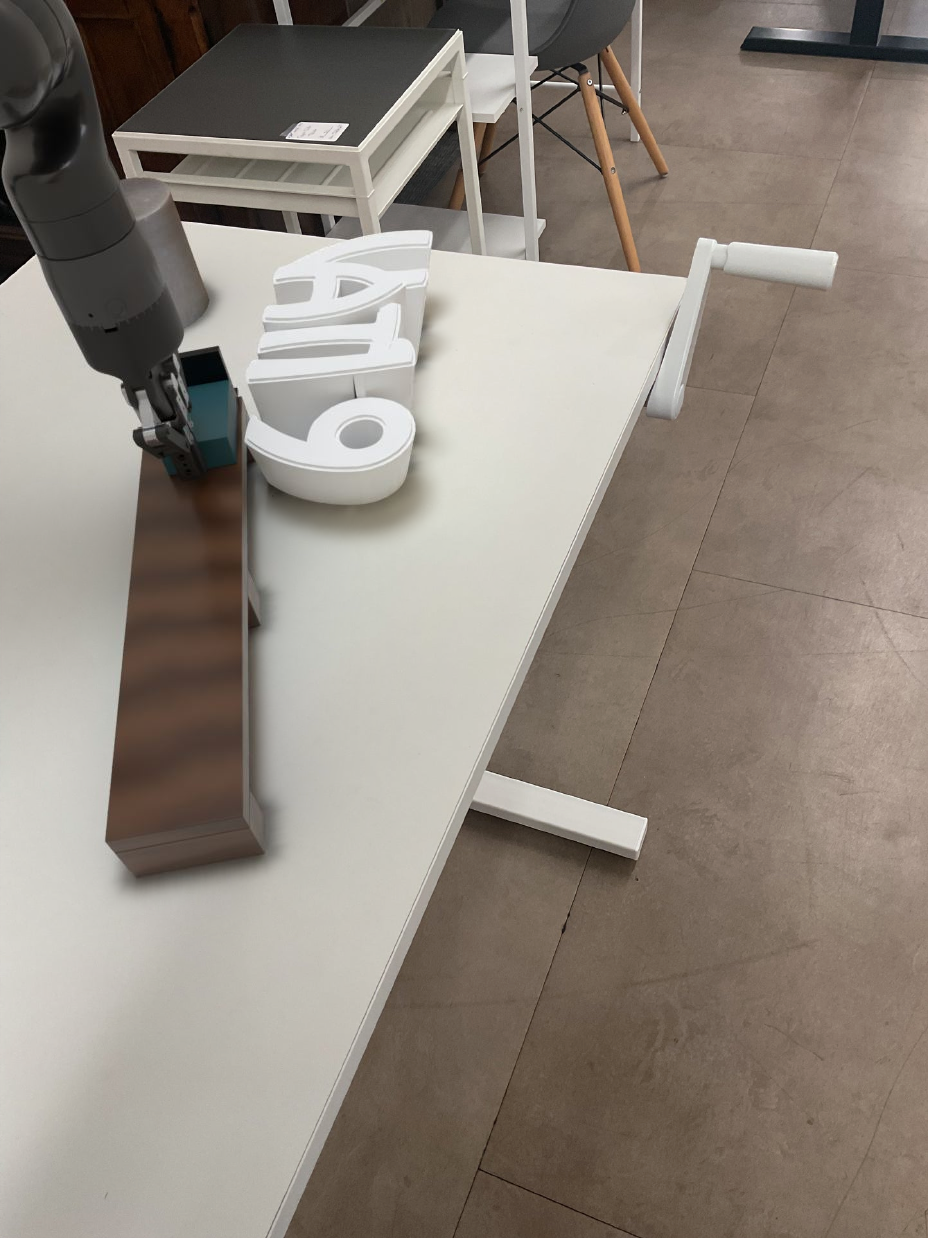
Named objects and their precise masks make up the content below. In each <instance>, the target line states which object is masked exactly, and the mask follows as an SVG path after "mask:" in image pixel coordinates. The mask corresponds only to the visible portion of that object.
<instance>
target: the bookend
mask: <svg viewBox="0 0 928 1238" xmlns="http://www.w3.org/2000/svg"><path fill="white" fill-rule="evenodd" d="M179 356H180V360H181V364H182V368H183V372H184V377H185V381H186V385H187V387H190V386H196V385H201V384H207V383H213V382H218V381H224V380H229V381H230V384H231V387H232V389H233V392H234V395H235V398H236V401H237V403H238V397H239V388H238V387H237V386H236V387H234V384H233V381H232V378H231V376H230V373H229V370H228V368H227V365H226V362H225V359H224V356H223V353H222V351H221V348H220V346H219V345H215V346H208V347H204V348H203V347H202V348H197V349H193V350H187V351H182V352H179Z"/></svg>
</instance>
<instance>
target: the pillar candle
mask: <svg viewBox="0 0 928 1238" xmlns="http://www.w3.org/2000/svg"><path fill="white" fill-rule="evenodd" d="M120 182H121V184H122V187H123V189H124V191H125V194H126V196H127V199H128V201H129V204H130V206H131V209H132V211H133V213H134V216H135V218H136V220H137V222H138V224H139V226H140V228H141V230H142V231H143V233H144V235H145V236H146V238H147V240H148V242H149V244H150V246H151V248H152V250H153V253H154V255H155V258H156V260H157V263H158V265H159V268H160V270H161V273H162V275H163V278H164V280H165V282H166V285H167V287H168V290H169V292H170V294H171V297H172V299H173V302H174V304H175V307H176V309H177V312H178V314H179V317H180V319H181V321H182V324H183V327H184V329H186V328H187V327H190V326H191V325H192V324H194V323H196V322H197V321H198V320H199V319H200V318H201V317H202V316H204V314H205V312H206V311H207V309H208V308H209V307H208V306H209V303H210V297H209V294H208V292H207V289H206V287H205V284H204V281H203V279H202V276H201V273H200V270H199V267H198V265H197V262H196V259H195V257H194V254H193V251H192V248H191V246H190V242H189V240H188V237H187V234H186V232H185V229H184V225H183V223H182V220H181V217H180V214H179V211H178V209H177V206H176V204H175V201H174V197H173V194H172V192H171V189H170V187H169V185H168V184H167V183H166V182H164V181H162V180H160V179H157V178H154V177H145V176H141V177H139V176H138V177H137V176H136V177H129V178H124V179H120Z"/></svg>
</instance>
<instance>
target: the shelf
mask: <svg viewBox="0 0 928 1238" xmlns="http://www.w3.org/2000/svg"><path fill="white" fill-rule="evenodd" d="M249 420H250V415H249V413H248V410H247V407H246V405H245V401H244V399H243V396H241V395H238V447H237V463H236V464H231V465H225V466H219V467H214V468H208V469H206V476H205V478H203V479H198V480H193V481H188V482H185V481H182V480H181V479H180V477H179V475H178V474H174V475H168V473H167V470H166V468H165V466H164V464H163V462H162V459H158V458H156V457H155V456H153V455H151V454H150V453H148V452H147V451H145V450H143V449H142V448H141V449H142V451H141V459H140V470H139V471H140V472H139V481H138V492H137V501H136V512H135V513H136V514H135V524H134V535H133V544H132V556H131V564H130V565H131V566H130V575H129V587H128V595H127V606H126V619H125V627H124V629H125V631H124V637H123V639H124V640H123V650H122V658H121V659H122V660H121V670H120V680H119V692H118V700H117V711H116V724H115V731H114V744H113V751H112V753H113V754H112V764H111V772H110V773H111V774H110V783H109V784H110V785H109V794H108V795H109V796H108V803H107V804H108V806H107V817H106V827H105V837H104V843H105V844H106V845H107V846H108V848H109V849H110V850H111V851H112V852H113V853H114V855H115V856H116V857H117V858H118V859H119V860H120V861H121V863H122V864H123V865H124V866H125V868H126V869H127V870H128V871H129V872H130V874H131V875H132V876H133V877H134V878H135V879H138V878H142V877H143V878H144V877H148V876H154V875H158V874H164V873H169V872H170V873H171V872H175V871H181V870H185V869H190V868H191V869H192V868H197V867H201V866H206V865H212V864H218V863H222V862H223V863H224V862H228V861H234V860H240V859H245V858H249V857H254V856H261V855H265V853H266V838H265V836H266V833H265V831H266V830H265V815H264V812H263V811H262V809H261V808H260V806H259V804H258V802H257V800H256V798H255V797H254V795H253V793H252V791H251V790H250V736H249V735H250V734H249V733H250V731H249V728H250V726H249V723H250V722H249V721H250V719H249V716H250V715H249V714H250V713H249V629H250V628H254V627H259V626H261V625H262V613H261V612H262V611H261V610H262V609H261V607H262V606H261V597H260V594H259V592H258V590H257V586H256V585H255V582H254V581H253V578H252V575H251V573H250V571H249V569H248V463H253V462H256V461H255V459H254V457H253V456H252V454H251V452H250V450H249V449H248V447H247V445H246V443H245V434H246V429H247V426H248V423H249Z"/></svg>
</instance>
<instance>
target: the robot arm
mask: <svg viewBox="0 0 928 1238" xmlns="http://www.w3.org/2000/svg"><path fill="white" fill-rule="evenodd" d="M93 81H94V80H93V77H92V72H91V68H90V63H89V60H88V56H87V52H86V49H85V46H84V43H83V39H82V37H81V34H80V32H79V29H78V27H77V24H76V22H75V20H74V18H73V16H72V14H71V12H70V10H69V9H68V7H67V5H66V3H65V2H64V0H0V131H1V130H2V131H3V130H4V133H5V141H6V145H5V152H4V157H3V161H2V165H1V166H2V167H1V179H2V183H3V186H4V190H5V192H6V195H7V198H8V200H9V202H10V205H11V207H12V209H13V210H14V212H15V214H16V216H17V218H18V220H19V222H20V224H21V226H22V229H23V230H24V232H25V234H26V236H27V238H28V240H29V242H30V244H31V246H32V248H33V250H34V252H35V255H36V257H37V259H38V261H39V265H40V268H41V271H42V273H43V277H44V279H45V282H46V284H47V286H48V288H49V291H50V293H51V295H52V296H53V298H54V300H55V301H54V302H56V304H57V307H58V308H59V310H60V312H61V314H62V317H63V318H64V321H65V322H66V324H67V327H68V329H69V331H70V332H71V334H72V336H73V339H74V340H75V342H76V344H77V346H78V348H79V350H80V352H81V353H82V356H83V357H84V360H85V361H86V363H87V365H88V366H89V367H90V368H91V369H93V370H94V371H96V372H98V373H100V374H102V375H108V376H110V377H114V378H116V379H119V380H120V381H121V383H120V391H121V394H122V397H123V398H124V401H125V402H126V404H127V405H128V406H129V407H130V408H132V409H133V410H134V413H135V414H136V416H137V419H138V420H139V422H140V425H141V426H137V428H135V429H133V430H132V440H133V442H134V443H135V445H136V447H139V448H140V449H143V450H145V451H147V452H148V453H150V454H151V455H153V456H155V457H156V458H158V459H162V458H165V457H169V456H170V458H171V460H172V463H173V465H174V467H175V469H176V471H177V473H178V475H179V477H180V479H181V480H182V481H185V482H188V481H193V480H198V479H203V478H205V476H206V466H207V463H206V460H205V458H204V456H203V454H202V451H201V449H200V447H199V444H198V442H197V440H196V438H195V435H194V433H191V432H194V423H193V421H192V419H191V417H190V414H189V413H190V412H192V407H193V406H192V403H191V401H190V397H189V393H188V389H187V385H186V381H185V377H184V372H183V368H182V364H181V360H180V356H179V353H180V352H179V348H180V346H181V345H182V343H183V340H184V337H185V328H184V327H183V324H182V321H181V319H180V317H179V314H178V312H177V309H176V307H175V304H174V302H173V299H172V297H171V294H170V292H169V290H168V287H167V285H166V282H165V280H164V278H163V275H162V273H161V270H160V268H159V265H158V263H157V260H156V258H155V255H154V253H153V250H152V248H151V246H150V244H149V242H148V240H147V238H146V236H145V235H144V233H143V231H142V230H141V228H140V226H139V224H138V222H137V220H136V218H135V216H134V213H133V211H132V209H131V206H130V204H129V201H128V199H127V196H126V194H125V191H124V189H123V187H122V184H121V182H120V180H121V179H120V177H119V174H118V172H117V171H116V169H115V166H114V164H113V162H112V160H111V158H110V155H109V152H108V149H107V144H106V139H105V134H104V127H103V121H102V116H101V111H100V106H99V101H98V98H97V94H96V89H95V85H94V82H93Z"/></svg>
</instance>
